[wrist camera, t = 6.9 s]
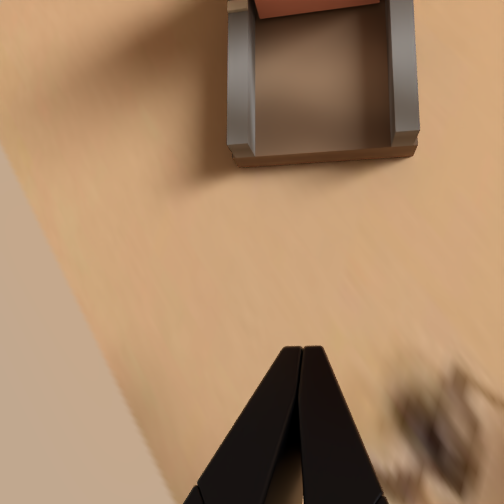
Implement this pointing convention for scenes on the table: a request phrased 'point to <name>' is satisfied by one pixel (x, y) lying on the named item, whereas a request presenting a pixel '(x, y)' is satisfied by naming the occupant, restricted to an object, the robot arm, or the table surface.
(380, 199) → the table surface
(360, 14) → the rail housing
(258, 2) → the pink upright rectangular block
